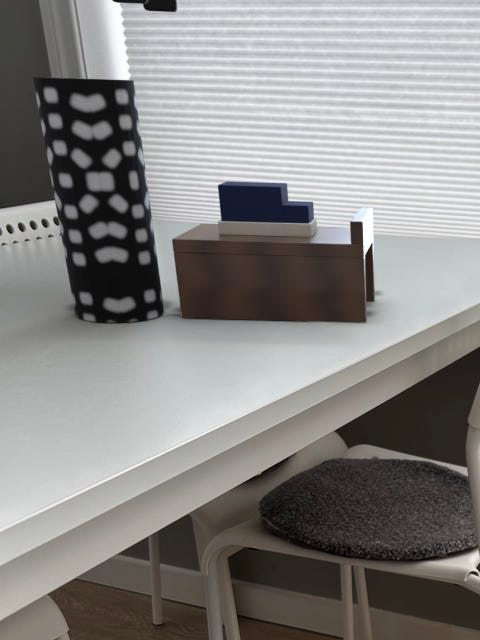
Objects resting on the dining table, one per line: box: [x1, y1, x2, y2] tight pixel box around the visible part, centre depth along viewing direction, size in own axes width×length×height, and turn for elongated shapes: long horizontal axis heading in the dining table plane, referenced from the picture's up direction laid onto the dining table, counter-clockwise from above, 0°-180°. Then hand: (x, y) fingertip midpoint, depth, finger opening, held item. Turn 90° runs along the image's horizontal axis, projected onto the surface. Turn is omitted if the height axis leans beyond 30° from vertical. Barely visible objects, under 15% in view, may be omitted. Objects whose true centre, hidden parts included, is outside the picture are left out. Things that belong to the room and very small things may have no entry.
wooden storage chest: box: [171, 206, 376, 324], centre depth 96 cm, size 18×12×9 cm, turn 91°
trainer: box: [217, 180, 318, 237], centre depth 93 cm, size 9×4×4 cm, turn 91°
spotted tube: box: [32, 76, 165, 324], centre depth 88 cm, size 8×8×20 cm
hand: (146, 7), depth 89 cm, fingers open, 9 cm apart
